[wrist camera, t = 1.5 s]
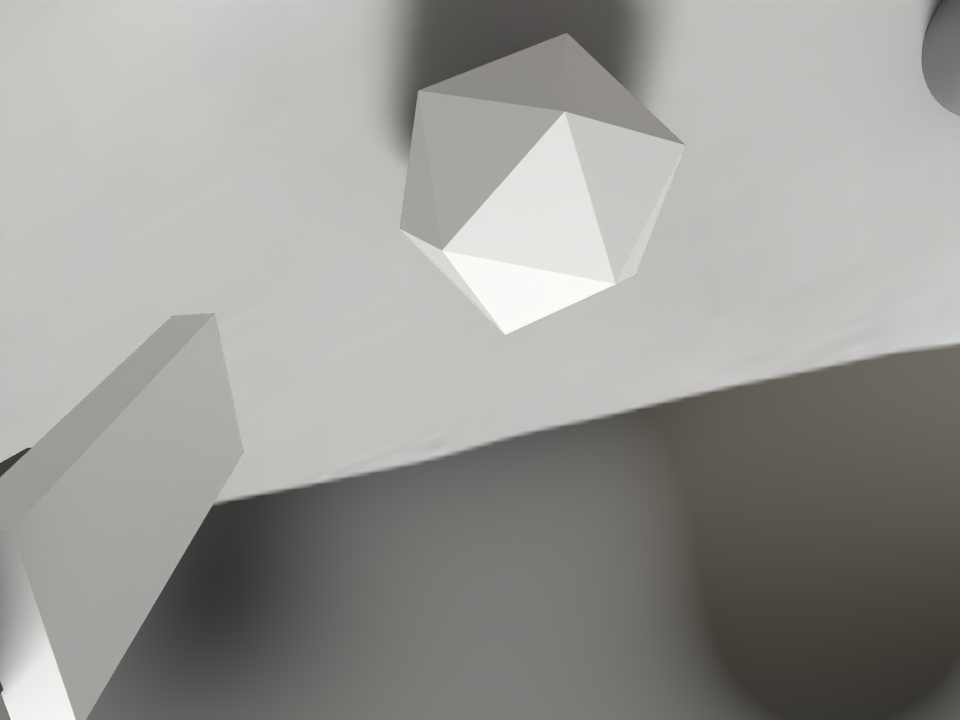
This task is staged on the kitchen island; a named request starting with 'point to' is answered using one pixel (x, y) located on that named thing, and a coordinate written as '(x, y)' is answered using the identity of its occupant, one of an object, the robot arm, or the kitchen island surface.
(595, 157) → the die
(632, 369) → the kitchen island surface
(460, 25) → the kitchen island surface
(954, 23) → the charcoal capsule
